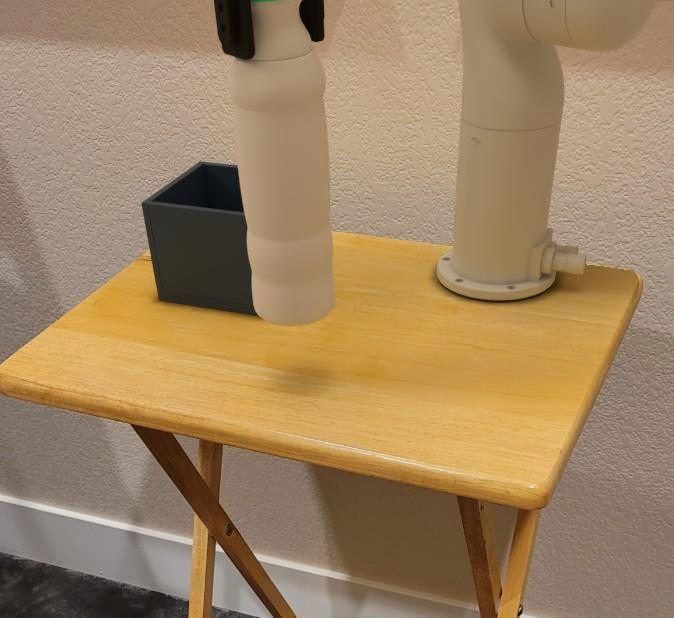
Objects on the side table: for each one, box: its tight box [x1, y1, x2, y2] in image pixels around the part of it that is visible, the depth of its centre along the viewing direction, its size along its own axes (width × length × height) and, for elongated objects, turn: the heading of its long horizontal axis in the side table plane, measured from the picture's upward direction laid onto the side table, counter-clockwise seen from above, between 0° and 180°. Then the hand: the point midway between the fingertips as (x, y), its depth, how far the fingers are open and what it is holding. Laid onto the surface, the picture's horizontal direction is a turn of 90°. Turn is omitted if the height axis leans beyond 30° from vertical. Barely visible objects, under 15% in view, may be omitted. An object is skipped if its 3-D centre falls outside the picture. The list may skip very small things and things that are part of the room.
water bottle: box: [227, 0, 337, 328], centre depth 67 cm, size 7×7×25 cm
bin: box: [140, 160, 260, 317], centre depth 92 cm, size 12×12×10 cm
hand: (273, 44), depth 62 cm, fingers closed on water bottle, 5 cm apart
